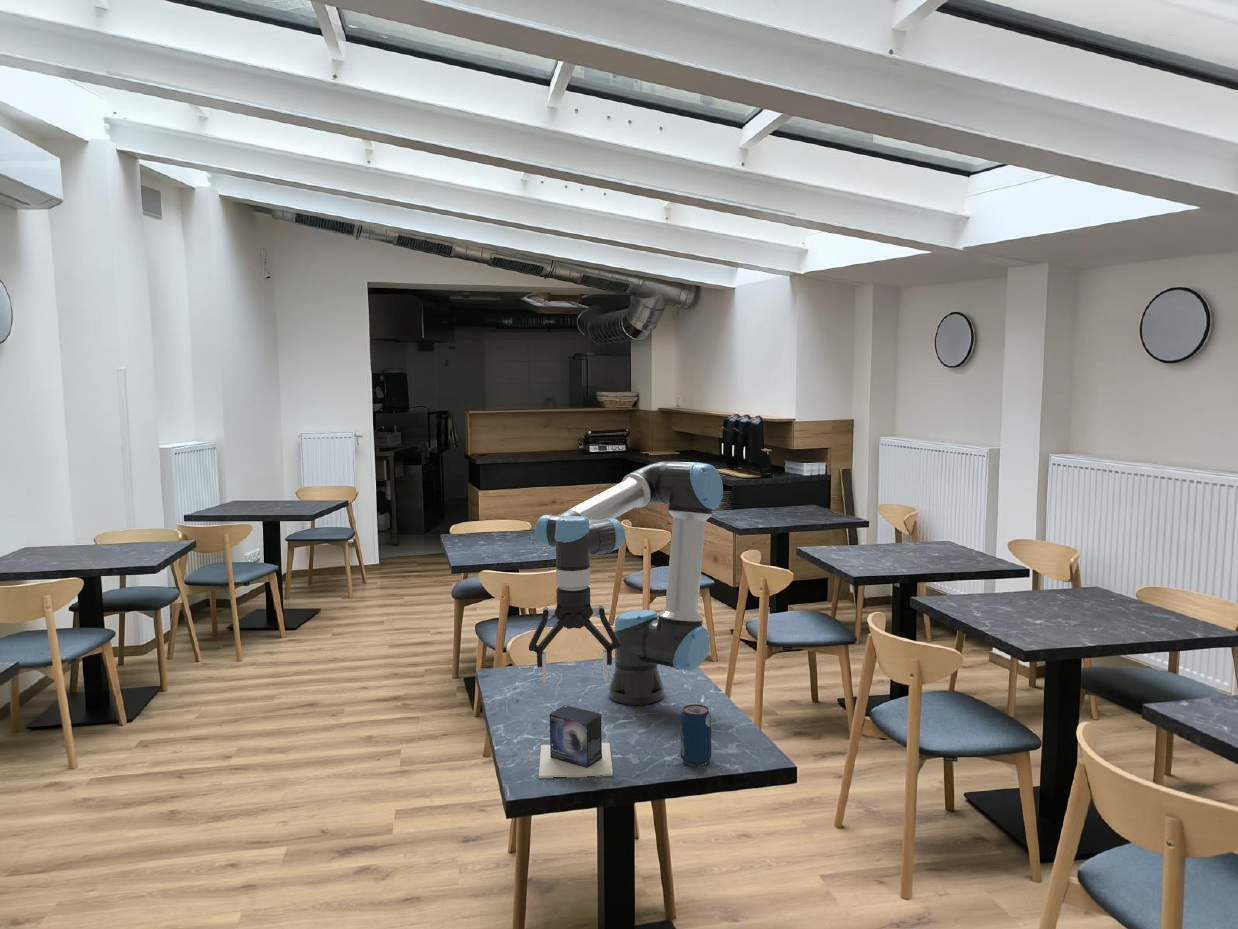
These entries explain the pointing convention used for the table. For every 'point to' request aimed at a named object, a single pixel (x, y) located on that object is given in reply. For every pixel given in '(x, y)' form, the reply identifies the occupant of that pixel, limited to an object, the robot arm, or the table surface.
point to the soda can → (695, 734)
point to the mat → (566, 769)
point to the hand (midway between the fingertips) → (574, 679)
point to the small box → (576, 736)
